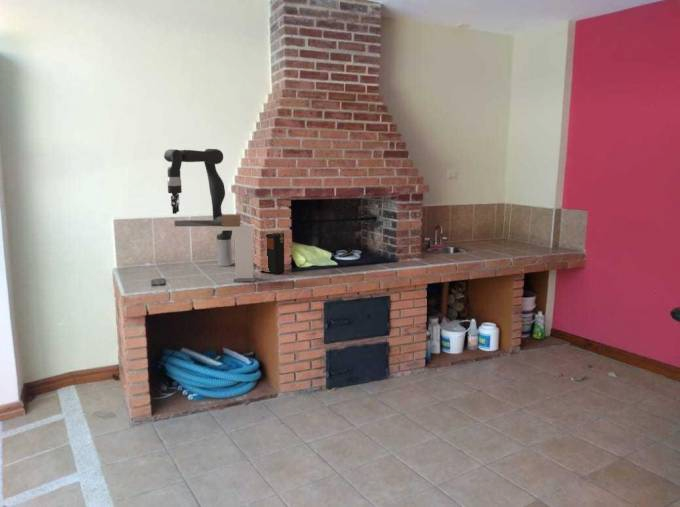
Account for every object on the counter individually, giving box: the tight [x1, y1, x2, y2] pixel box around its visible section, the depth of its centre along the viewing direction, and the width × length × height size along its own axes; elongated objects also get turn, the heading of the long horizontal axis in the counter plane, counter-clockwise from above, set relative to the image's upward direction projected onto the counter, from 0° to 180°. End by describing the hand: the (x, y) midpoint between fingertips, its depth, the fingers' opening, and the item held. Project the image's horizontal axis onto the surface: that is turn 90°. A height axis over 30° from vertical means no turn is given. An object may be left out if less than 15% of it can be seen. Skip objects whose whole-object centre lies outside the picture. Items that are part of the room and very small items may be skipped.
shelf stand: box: [210, 223, 256, 283], centre depth 312 cm, size 10×24×32 cm, turn 98°
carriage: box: [174, 213, 241, 227], centre depth 307 cm, size 7×36×6 cm, turn 98°
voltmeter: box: [266, 232, 285, 275], centre depth 334 cm, size 16×9×25 cm, turn 59°
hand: (175, 212), depth 315 cm, fingers open, 8 cm apart
